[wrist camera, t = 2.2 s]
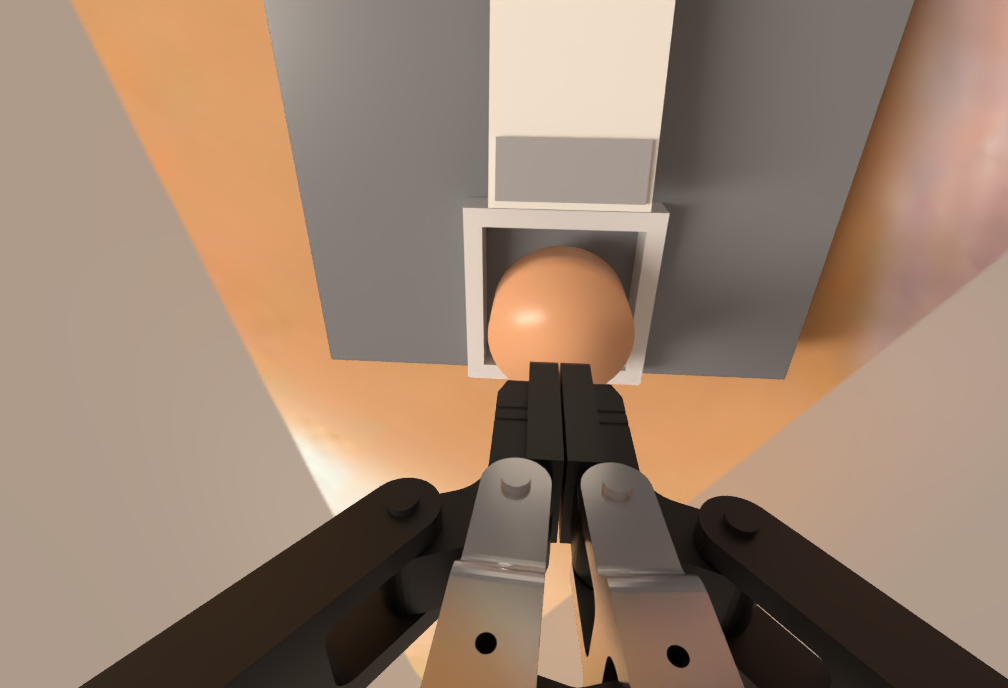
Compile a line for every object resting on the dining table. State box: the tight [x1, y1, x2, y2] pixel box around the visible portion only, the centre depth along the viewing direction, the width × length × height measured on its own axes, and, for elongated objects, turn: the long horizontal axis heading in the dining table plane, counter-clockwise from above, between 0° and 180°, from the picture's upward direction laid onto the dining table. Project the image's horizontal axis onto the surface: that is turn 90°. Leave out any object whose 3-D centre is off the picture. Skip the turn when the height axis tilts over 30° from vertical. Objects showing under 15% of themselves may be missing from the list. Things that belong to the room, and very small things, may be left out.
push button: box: [488, 246, 635, 384], centre depth 16 cm, size 4×4×2 cm
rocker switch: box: [488, 0, 675, 212], centre depth 13 cm, size 4×7×1 cm, turn 0°
